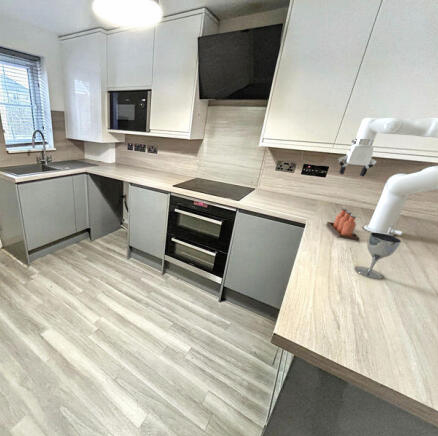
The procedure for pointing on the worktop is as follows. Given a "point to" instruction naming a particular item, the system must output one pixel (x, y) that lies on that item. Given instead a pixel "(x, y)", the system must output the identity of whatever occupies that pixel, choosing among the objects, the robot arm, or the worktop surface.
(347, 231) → the loose bottle
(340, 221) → the tray bottle
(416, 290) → the worktop surface
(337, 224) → the tray bottle
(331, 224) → the tray
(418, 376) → the worktop surface
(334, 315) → the worktop surface
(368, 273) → the wine glass
